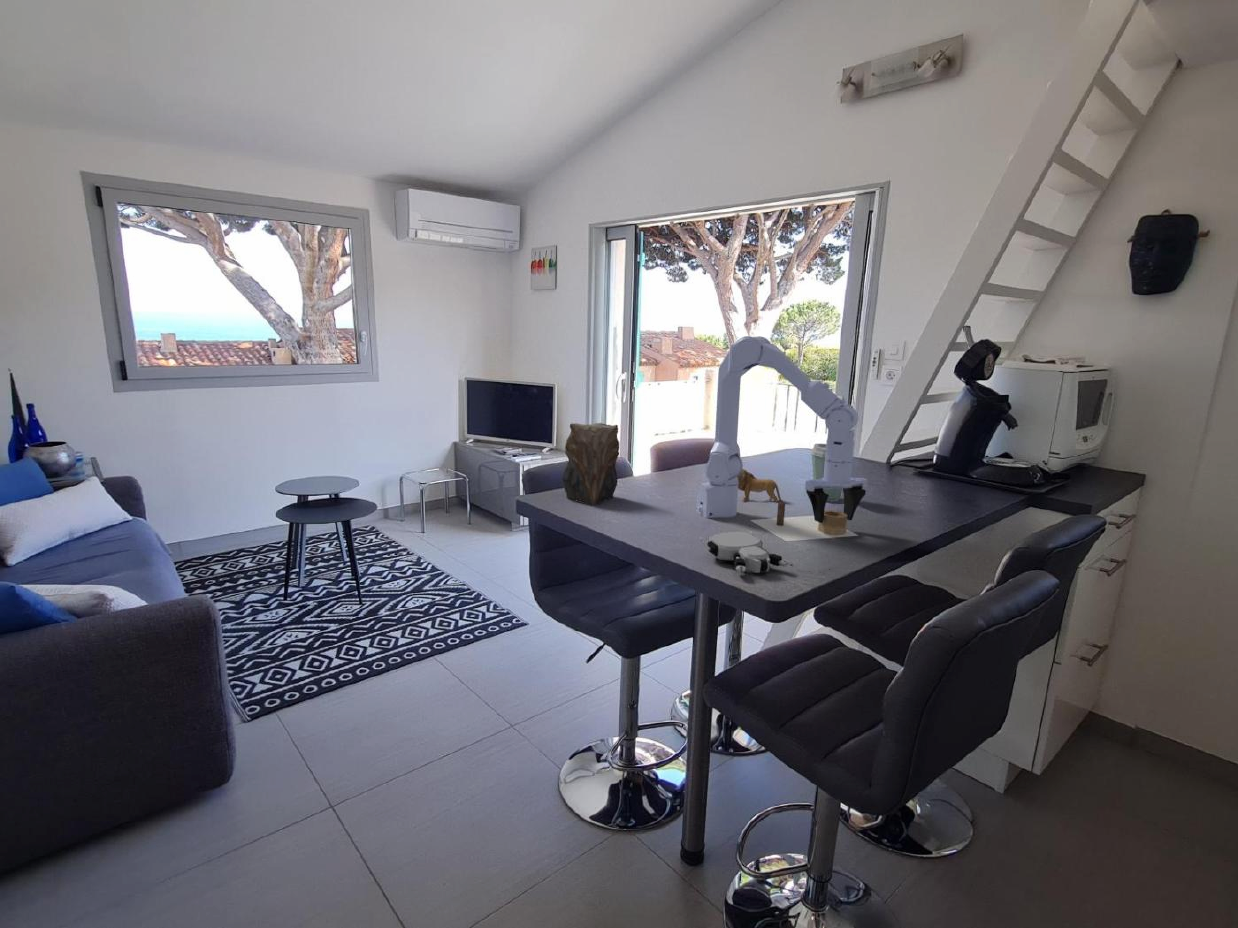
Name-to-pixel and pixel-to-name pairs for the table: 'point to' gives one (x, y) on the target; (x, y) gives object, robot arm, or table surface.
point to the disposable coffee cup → (822, 470)
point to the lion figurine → (756, 486)
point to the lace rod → (780, 513)
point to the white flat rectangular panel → (797, 528)
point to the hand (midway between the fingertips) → (833, 520)
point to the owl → (591, 462)
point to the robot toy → (743, 551)
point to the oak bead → (833, 523)
